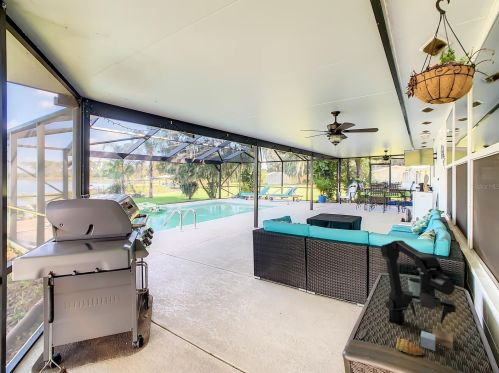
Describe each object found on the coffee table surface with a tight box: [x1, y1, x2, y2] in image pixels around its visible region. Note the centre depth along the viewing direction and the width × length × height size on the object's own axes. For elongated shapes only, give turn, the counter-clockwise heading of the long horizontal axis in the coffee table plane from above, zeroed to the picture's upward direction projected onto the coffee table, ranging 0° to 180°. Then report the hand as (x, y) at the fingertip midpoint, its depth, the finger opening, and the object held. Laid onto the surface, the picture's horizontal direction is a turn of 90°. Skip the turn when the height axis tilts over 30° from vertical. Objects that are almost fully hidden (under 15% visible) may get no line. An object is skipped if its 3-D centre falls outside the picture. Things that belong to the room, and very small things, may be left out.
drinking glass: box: [407, 277, 420, 303], centre depth 151 cm, size 10×10×12 cm
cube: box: [420, 330, 436, 352], centre depth 108 cm, size 5×5×5 cm
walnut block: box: [432, 328, 454, 350], centre depth 111 cm, size 7×7×4 cm
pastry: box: [395, 337, 423, 356], centre depth 106 cm, size 9×7×4 cm
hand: (428, 319), depth 108 cm, fingers open, 9 cm apart
